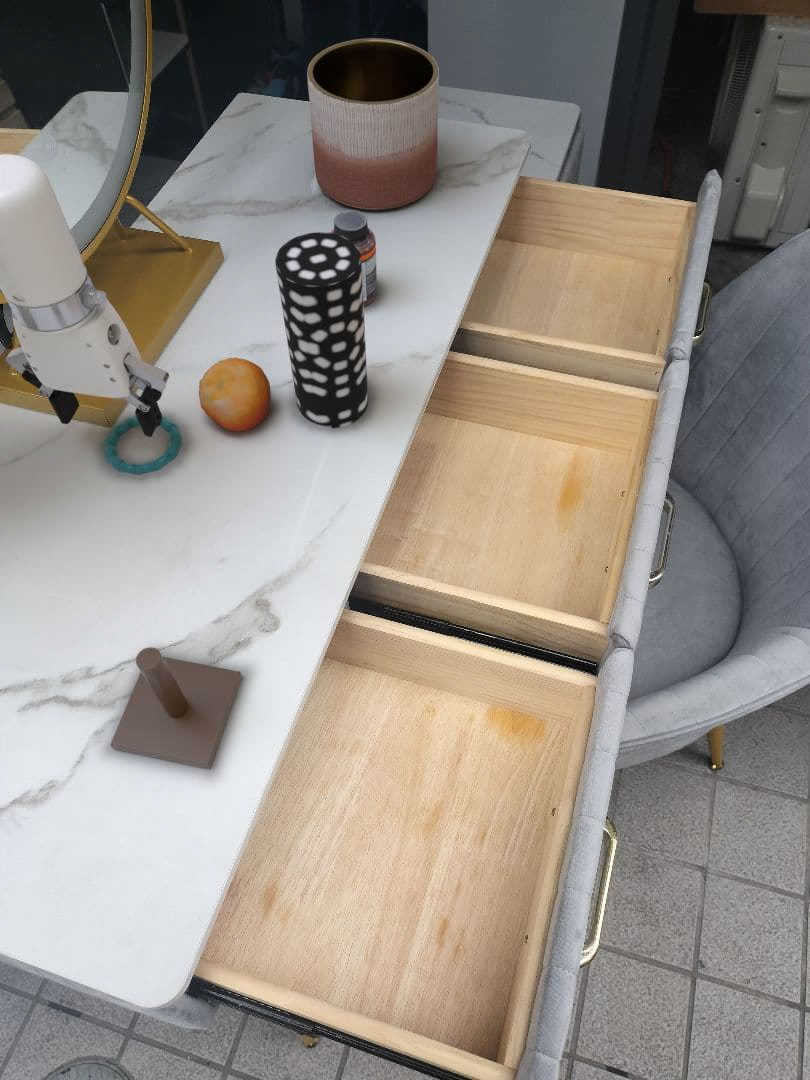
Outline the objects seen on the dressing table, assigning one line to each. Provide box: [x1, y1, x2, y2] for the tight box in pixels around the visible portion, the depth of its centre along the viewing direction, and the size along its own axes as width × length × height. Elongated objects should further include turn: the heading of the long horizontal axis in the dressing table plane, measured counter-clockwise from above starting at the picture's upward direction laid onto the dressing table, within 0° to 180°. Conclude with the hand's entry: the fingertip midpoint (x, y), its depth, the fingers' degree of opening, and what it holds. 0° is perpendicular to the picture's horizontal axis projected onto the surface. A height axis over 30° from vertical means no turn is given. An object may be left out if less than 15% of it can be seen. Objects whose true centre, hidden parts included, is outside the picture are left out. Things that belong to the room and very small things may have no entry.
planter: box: [306, 37, 440, 211], centre depth 114 cm, size 18×18×16 cm
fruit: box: [198, 357, 271, 432], centre depth 92 cm, size 8×8×8 cm
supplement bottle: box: [329, 209, 378, 308], centre depth 102 cm, size 6×6×11 cm
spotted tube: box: [274, 231, 369, 429], centre depth 87 cm, size 8×8×20 cm
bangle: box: [103, 415, 183, 476], centre depth 91 cm, size 8×8×1 cm
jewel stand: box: [110, 647, 243, 770], centre depth 69 cm, size 9×9×11 cm
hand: (112, 420), depth 89 cm, fingers open, 9 cm apart
